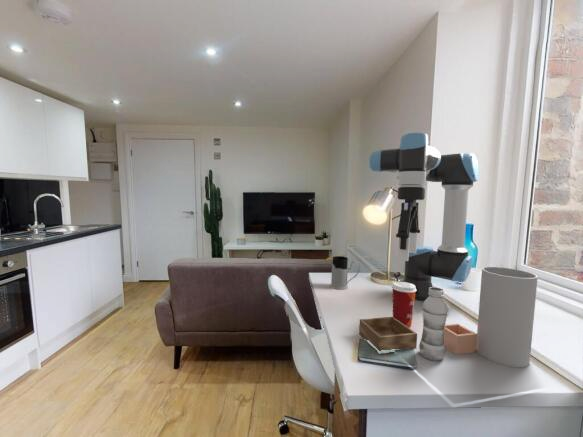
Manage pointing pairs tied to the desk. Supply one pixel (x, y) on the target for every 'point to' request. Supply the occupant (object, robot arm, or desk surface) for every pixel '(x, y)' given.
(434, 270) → the robot arm
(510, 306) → the cylinder vase
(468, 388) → the desk surface
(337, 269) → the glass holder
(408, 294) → the coffee cup
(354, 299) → the desk surface
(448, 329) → the planter
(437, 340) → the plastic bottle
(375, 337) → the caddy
